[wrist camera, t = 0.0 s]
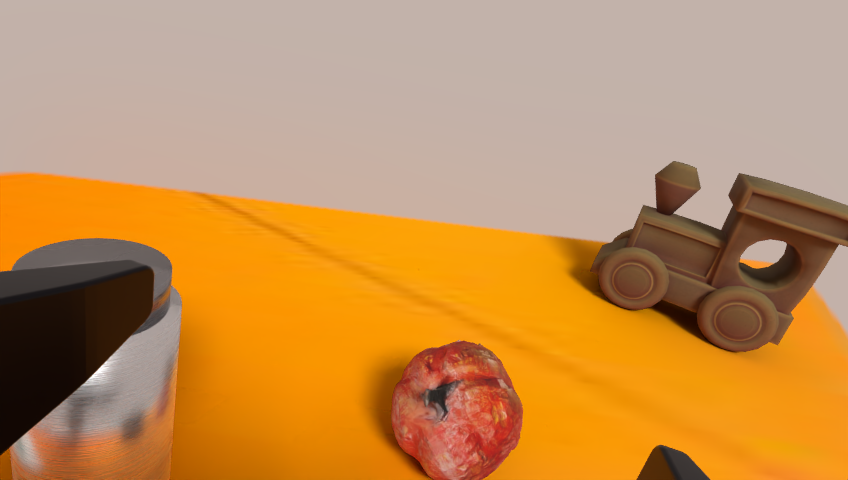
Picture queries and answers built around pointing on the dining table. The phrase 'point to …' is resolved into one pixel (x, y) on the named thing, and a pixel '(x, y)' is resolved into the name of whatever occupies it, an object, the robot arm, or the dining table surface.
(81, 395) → the shaker
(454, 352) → the pomegranate
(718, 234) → the wooden toy train
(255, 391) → the dining table surface
